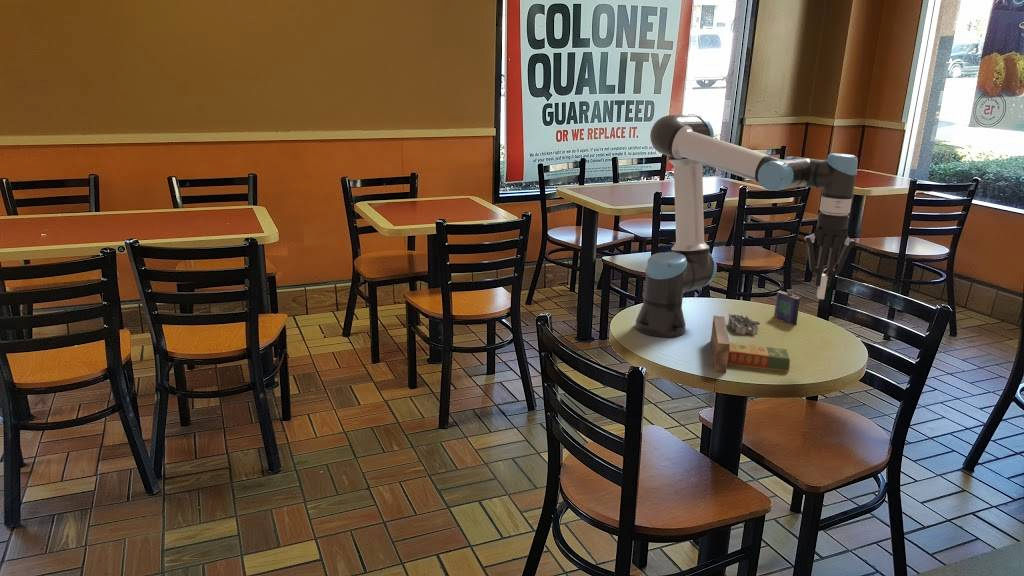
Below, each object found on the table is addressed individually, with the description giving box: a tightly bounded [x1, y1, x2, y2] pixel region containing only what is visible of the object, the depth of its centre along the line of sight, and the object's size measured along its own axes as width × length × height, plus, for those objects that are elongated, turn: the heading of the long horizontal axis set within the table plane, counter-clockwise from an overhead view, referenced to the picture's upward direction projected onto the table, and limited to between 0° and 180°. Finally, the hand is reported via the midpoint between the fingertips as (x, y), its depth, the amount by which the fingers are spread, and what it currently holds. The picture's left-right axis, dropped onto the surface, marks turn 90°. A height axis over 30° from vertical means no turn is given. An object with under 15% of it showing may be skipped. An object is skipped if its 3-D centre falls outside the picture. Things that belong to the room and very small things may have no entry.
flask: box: [773, 289, 801, 326], centre depth 239 cm, size 9×3×11 cm, turn 24°
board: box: [710, 315, 730, 373], centre depth 207 cm, size 3×24×8 cm, turn 168°
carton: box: [727, 341, 791, 372], centre depth 203 cm, size 8×16×4 cm, turn 77°
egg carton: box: [727, 313, 761, 335], centre depth 231 cm, size 11×8×4 cm
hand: (820, 297), depth 202 cm, fingers closed
